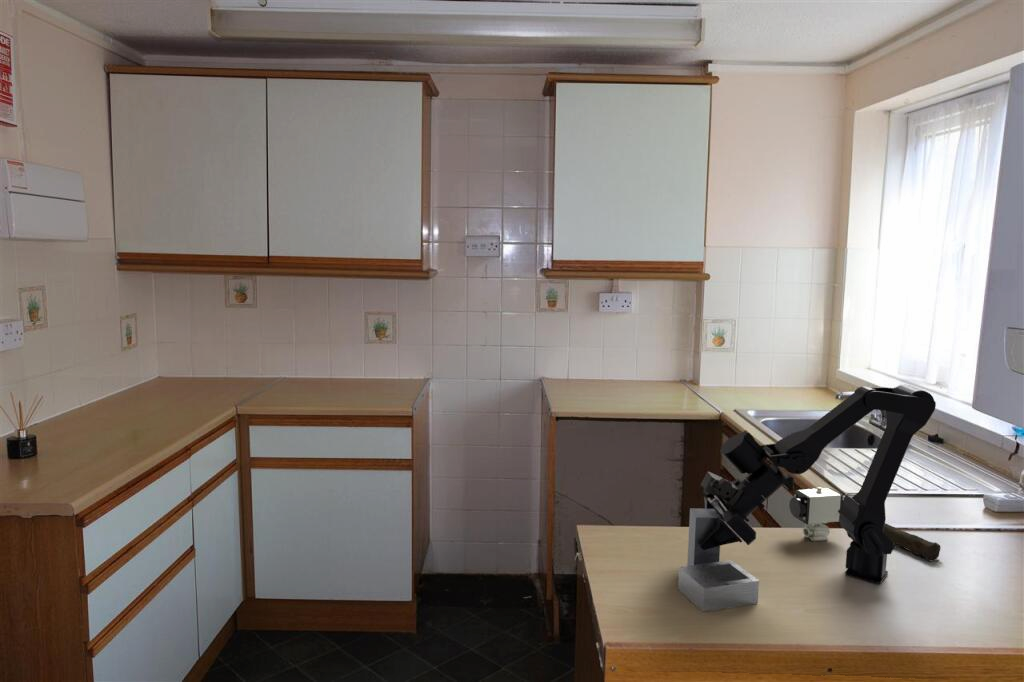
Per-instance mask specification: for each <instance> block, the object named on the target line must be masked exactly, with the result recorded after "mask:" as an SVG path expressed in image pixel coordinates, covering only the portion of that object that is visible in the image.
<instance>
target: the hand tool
mask: <svg viewBox="0 0 1024 682" xmlns="http://www.w3.org/2000/svg"><path fill="white" fill-rule="evenodd" d="M883 533H884V534H885V535H886V536H887V537H888V538H889V539H890V540H891V541H892V542H893V543H894V544H895V545H897V546H900V547H901V548H903V549H906V550H907V551H911V552H913V553H915V554H917V555H919V556H922V557H923V558H925V559H926V561H927V562H931V561H930V560H933V561H936V560H938V558H939V556H940V552H941V545H940V544H939V543H938V542H932V541H929V540H927V539H925V538H923V537H920V536H918V535H916V534H911V533H909V532H907V531H904V530H902V529H899V528H897V527H895V526H892V525H890V524H889V523H885V525H884V529H883ZM935 559H936V560H935Z"/></svg>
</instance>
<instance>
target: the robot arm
mask: <svg viewBox="0 0 1024 682" xmlns="http://www.w3.org/2000/svg"><path fill="white" fill-rule="evenodd" d="M936 405H937V403H936V400H935V398H934V397H933V395H932V394H931V393H930V392H928V391H926V390H924V389H920V388H918V387H915V386H913V385H912V386H911V385H909V384H899V385H898V386H896V387H885V386H878V387H877V386H876V387H875V386H874V387H873V386H867V385H863V386H859V387H857V388H856V389H855V390H854V392H853V393H852V394H850V395H849V396H848V397H846V398H845V399H844V400H843V401H841V402H840V403H838V404H837V406H836V405H835V407H833V408H832V409H831V410H829V411H828V412H827V413H826V414H825V415H823V416H822V417H820V418H819V419H818V420H817V421H815V422H814V423H813V424H812V425H810V426H809V427H806V428H805V429H802V430H799V431H795V432H793V433H791V434H789V435H786V436H785V437H783V438H781V439H779V440H778V441H777V442H775V443H769V444H761V445H760V444H759V442H757V440H755V438H754V436H753V435H752V434H751V433H750V432H749V431H748V430H743V432H741V433H738V434H735V435H733V436H731V437H729V438H728V439H727V440H725V442H723V444H722V446H721V447H720V451H719V452H720V454H721V455H722V456H723V458H725V459H726V460H727V461H728V462H729V463H730V465H732V466H733V467H734V469H736V470H737V471H738V472H739V473H740V474H747V475H746V476H745V477H744V478H743V479H742V480H740V479H739V478H735V479H734V480H733V481H730V480H728V479H726V478H724V477H722V476H720V475H718V474H715V473H713V472H710V471H707V472H706V474H705V476H704V478H703V480H702V481H701V483H700V487H703V490H702V491H703V494H704V495H705V496H704V497H703V500H704V509H715V510H716V511H717V513H718V514H719V515H720V516H719V515H718V518H717V526H716V527H715V528H714V529H713V531H712V532H711V533H710V534H709V535H708V536H707V537H706V539H705V540H704V541H703V542H702V543H701V545H700V547H701V548H702V549H703V550H706V549H710V548H714V547H717V546H720V547H721V546H724V545H729V544H733V543H742V542H744V543H745V544H746V545H747V546H749V545H751V544H752V543H753V542H755V540H756V539H757V532H756V530H755V529H754V528H753V527H752V525H750V523H749V522H750V519H749V518H748V517H749V516H750V515H751V514H752V513H753V512H754V511H756V510H757V508H759V509H760V510H763V509H764V508H765V507H766V505H764V504H763V503H764V502H766V500H768V499H769V498H770V497H771V496H772V495H773V494H775V493H776V491H778V490H779V489H780V488H781V487H785V488H786V489H787V490H788V491H789V492H793V491H794V479H795V478H794V476H792V475H791V474H793V475H802V474H804V473H806V472H807V471H808V470H809V469H810V468H811V467H812V466H813V465H814V464H815V463H816V462H817V461H818V460H819V458H820V456H821V455H822V452H823V450H824V449H825V448H826V447H827V446H828V445H829V444H831V443H832V442H833V441H834V440H836V439H838V437H840V436H841V435H842V434H844V433H845V432H847V431H848V430H849V429H850V428H852V427H853V426H854V425H856V424H857V423H858V422H860V421H861V420H862V419H863V418H865V417H866V416H867V415H869V414H870V413H872V412H873V411H874V410H877V411H885V420H886V421H885V422H886V427H885V429H884V431H883V434H882V436H881V439H880V442H879V443H878V446H877V448H876V451H875V453H874V456H873V458H872V460H871V462H870V465H869V468H868V471H867V473H866V475H865V477H864V480H863V482H862V485H861V487H860V489H859V490H858V492H856V494H854V495H853V496H850V495H848V494H845V495H844V500H843V504H842V506H841V508H840V509H839V510H838V513H839V514H840V516H839V523H840V526H841V528H842V529H844V530H845V532H846V535H847V537H848V538H850V539H851V540H852V541H851V542H849V543H850V544H849V546H848V548H847V549H846V558H845V569H846V571H845V573H844V574H845V575H846V576H849V577H853V578H857V579H858V580H859V579H860V580H864V581H867V582H871V583H874V584H876V585H881V584H882V582H883V581H884V580H885V578H886V577H887V576H888V573H889V571H888V570H887V561H888V555H891V554H892V553H893V551H894V549H895V545H896V544H895V543H893V542H892V541H891V540H890V539H889V538H888V537H887V536H886V535H885V534H884V533H883V529H884V525H885V524H886V519H887V518H886V517H887V516H886V501H887V497H888V496H889V493H890V490H891V488H892V486H893V484H894V481H895V479H896V477H897V475H898V472H899V470H900V468H901V464H902V462H903V460H904V458H905V455H906V453H907V450H908V449H909V445H910V443H911V441H912V438H913V437H914V436H915V435H916V434H917V433H918V432H919V431H921V430H922V429H923V428H924V427H925V426H926V425H927V423H928V422H929V421H930V418H931V417H932V415H933V414H934V412H935V410H936V407H937V406H936ZM765 460H768V461H769V462H770V463H772V464H771V465H769V464H768V463H767V462H766V461H765ZM780 468H783V469H784V470H785V471H787V472H788V473H784V471H782V469H780Z"/></svg>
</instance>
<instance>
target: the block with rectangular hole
mask: <svg viewBox="0 0 1024 682" xmlns="http://www.w3.org/2000/svg"><path fill="white" fill-rule="evenodd" d="M677 580H678V585H677V590H678V589H679V590H680V591H679V592H680V593H682V594H683V595H684V597H686V598H687V599H688V600H689V601H690V602H691V603H692V604H694V606H696V607H697V608H698V610H700V611H701V612H702V613H704V612H713V611H718V610H725V609H732V608H738V607H745V606H752V605H758V604H759V603H758V601H759V590H760V589H759V588H760V587H759V586H760V580H759V579H758V578H756V577H755V576H754V575H752V574H751V573H749V572H748V571H747V570H746V569H744V568H743V567H742V566H740V565H738V564H737V563H736V562H735V561H733V560H731V559H729V560H722V561H719V562H713V563H706V564H698V565H690V566H687V565H685V566H684V565H683V566H679V567H678V579H677Z"/></svg>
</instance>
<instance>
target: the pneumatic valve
mask: <svg viewBox="0 0 1024 682" xmlns="http://www.w3.org/2000/svg"><path fill="white" fill-rule="evenodd" d="M793 496H794V497H791V498H790V500H789V503H788V504H789V511H790V513H791V515H792V516H793V517H794V518H795V519H797V520H799V521H801V522H802V523H803V524H804V526H805V527H803V530H802V532H803V535H804V537H805V538H808V539H810V540H811V542H814V543H815V542H824V541H826V542H827V540H828V537H829V535H830V534H831V530H830V528H829V526H828V525H826V524H827V523H835V522H836V523H837V522H839V516H840V514H839V513H838V510H839V509H840V508H841V506H842V504H843V500H844V497H845V495H844V494H843V493H840V492H839V491H837V490H835V489H833V488H831V487H828V488H827V487H823V488H822V487H821V486H819V487H816V488H815V487H814V488H807V489H795V490H794V494H793ZM839 523H840V522H839Z"/></svg>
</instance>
